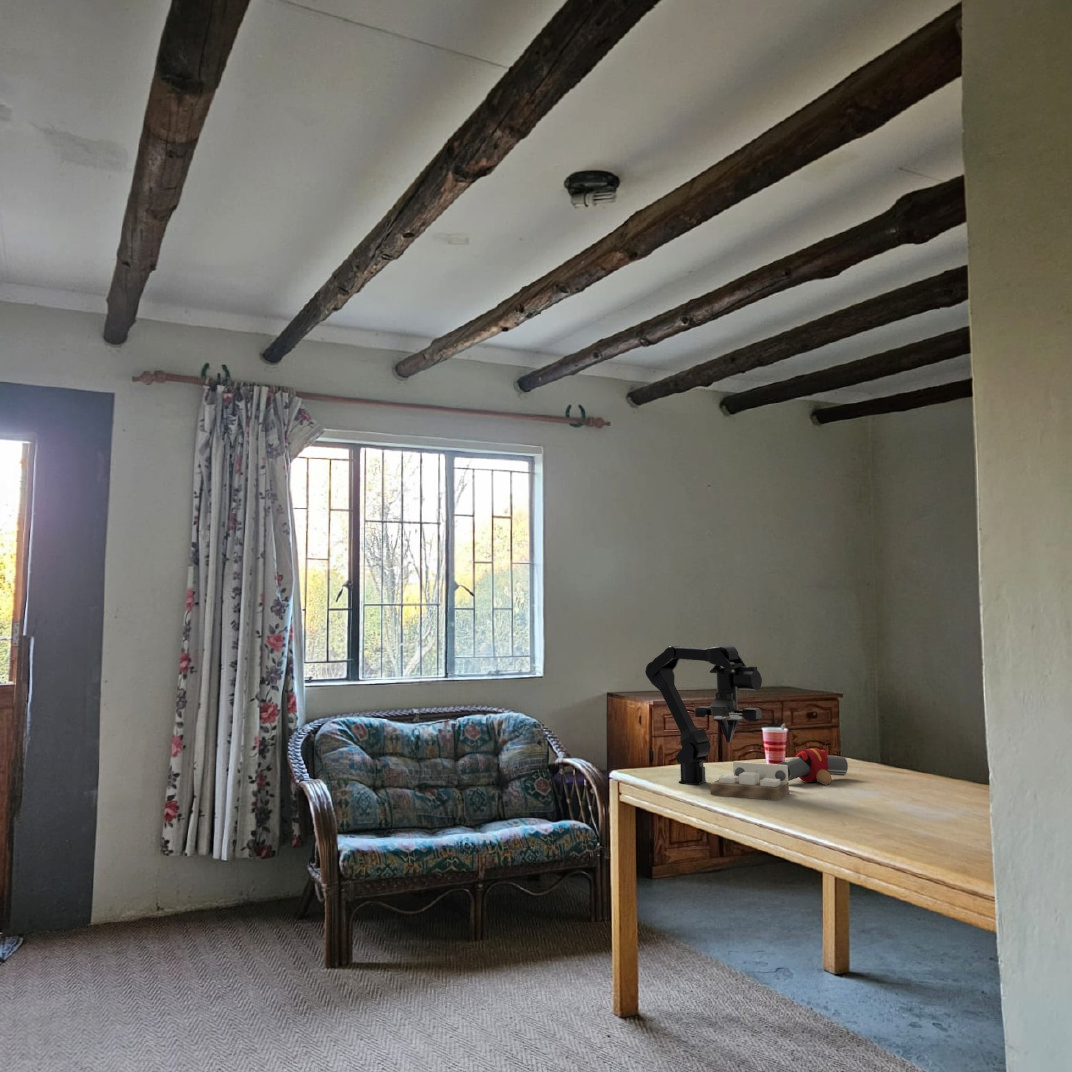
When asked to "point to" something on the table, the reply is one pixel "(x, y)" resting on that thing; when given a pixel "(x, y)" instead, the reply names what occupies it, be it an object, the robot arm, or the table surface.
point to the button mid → (749, 778)
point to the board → (750, 790)
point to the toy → (815, 766)
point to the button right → (770, 782)
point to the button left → (729, 779)
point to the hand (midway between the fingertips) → (728, 742)
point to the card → (762, 770)
